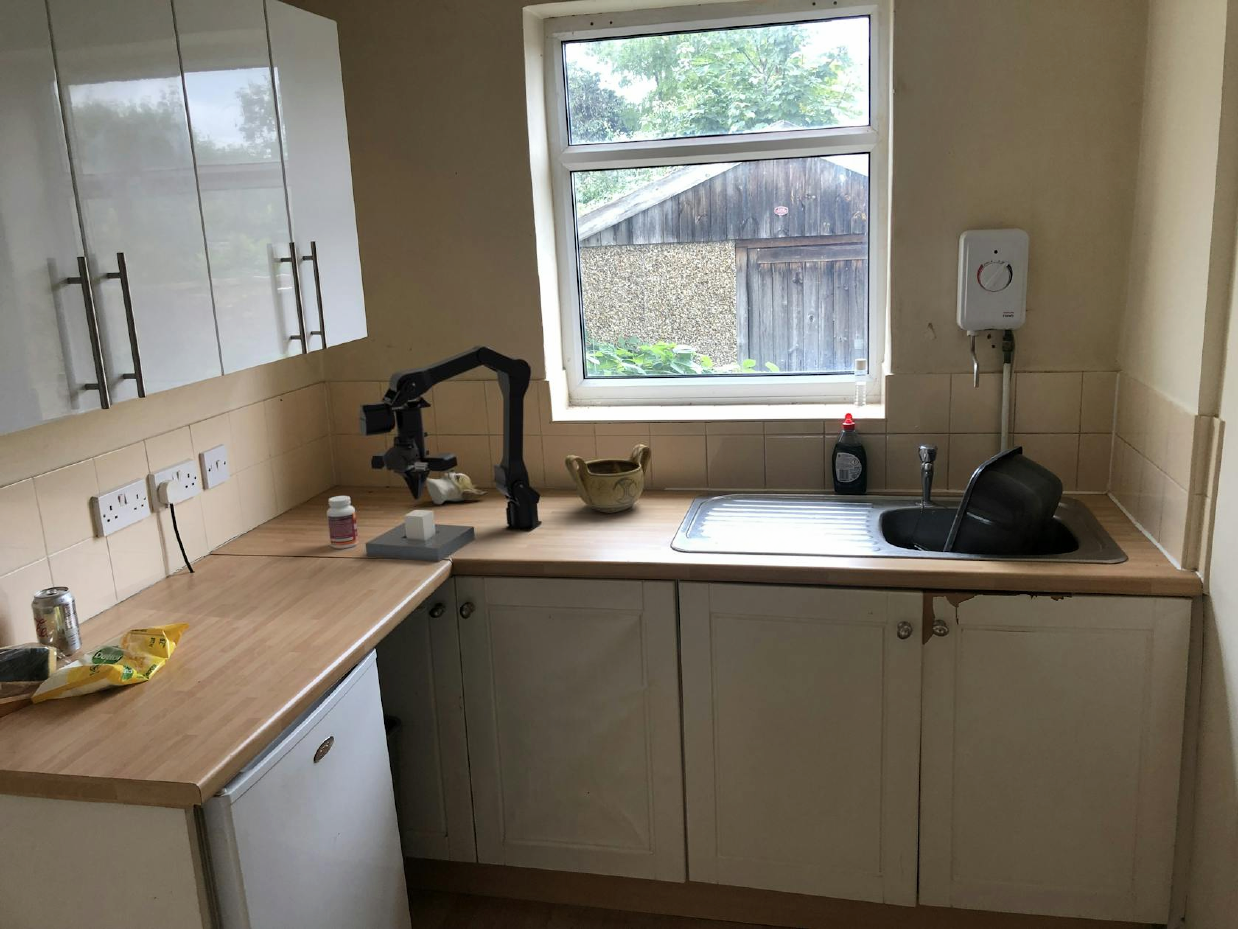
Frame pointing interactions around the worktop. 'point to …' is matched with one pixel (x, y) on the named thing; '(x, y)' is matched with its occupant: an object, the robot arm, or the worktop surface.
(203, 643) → the worktop surface
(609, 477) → the ceramic bowl
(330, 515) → the pill bottle
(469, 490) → the ceramic sculpture
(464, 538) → the jig plate
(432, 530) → the white rectangular block
